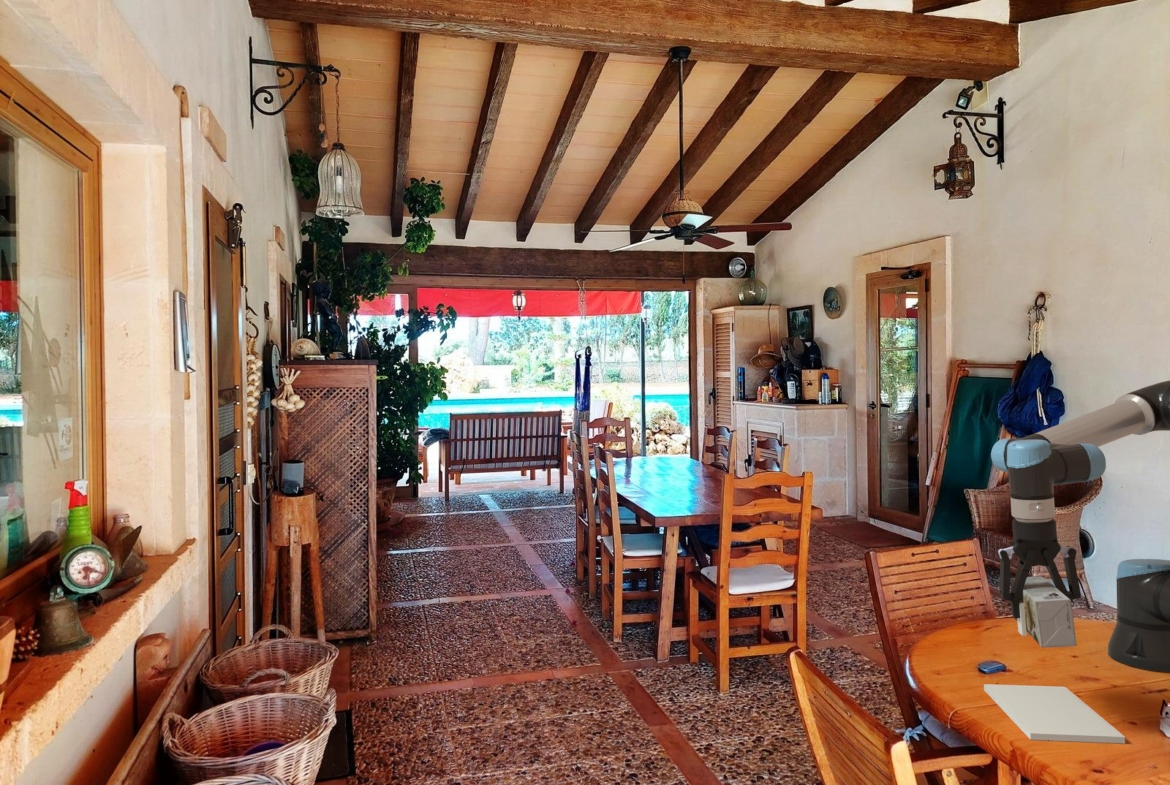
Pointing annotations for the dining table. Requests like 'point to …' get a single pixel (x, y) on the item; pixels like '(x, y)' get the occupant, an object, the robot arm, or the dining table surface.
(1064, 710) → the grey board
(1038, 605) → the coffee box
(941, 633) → the dining table surface
